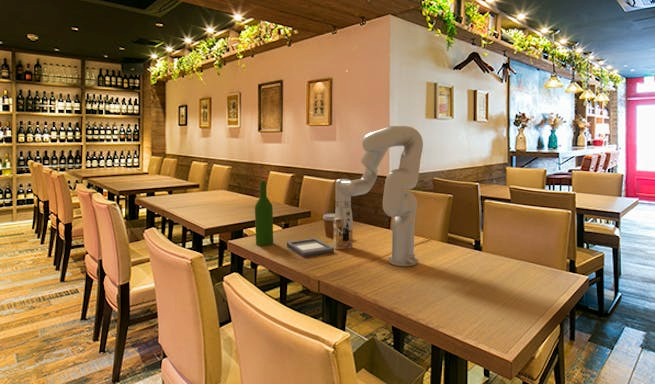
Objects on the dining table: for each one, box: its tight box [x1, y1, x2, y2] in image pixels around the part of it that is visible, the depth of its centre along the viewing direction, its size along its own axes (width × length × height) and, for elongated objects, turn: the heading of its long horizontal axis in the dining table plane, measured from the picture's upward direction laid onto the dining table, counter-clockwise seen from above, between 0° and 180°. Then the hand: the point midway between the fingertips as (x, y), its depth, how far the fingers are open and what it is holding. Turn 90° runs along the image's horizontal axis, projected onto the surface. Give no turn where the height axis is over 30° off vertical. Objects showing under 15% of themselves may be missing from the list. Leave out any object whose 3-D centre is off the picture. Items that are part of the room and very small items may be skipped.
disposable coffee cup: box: [322, 213, 335, 238], centre depth 224 cm, size 10×10×12 cm
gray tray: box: [286, 237, 335, 259], centre depth 199 cm, size 20×16×2 cm
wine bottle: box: [254, 181, 274, 247], centre depth 208 cm, size 9×9×32 cm
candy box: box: [333, 218, 354, 250], centre depth 201 cm, size 9×4×15 cm, turn 107°
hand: (343, 239), depth 202 cm, fingers closed on candy box, 4 cm apart
